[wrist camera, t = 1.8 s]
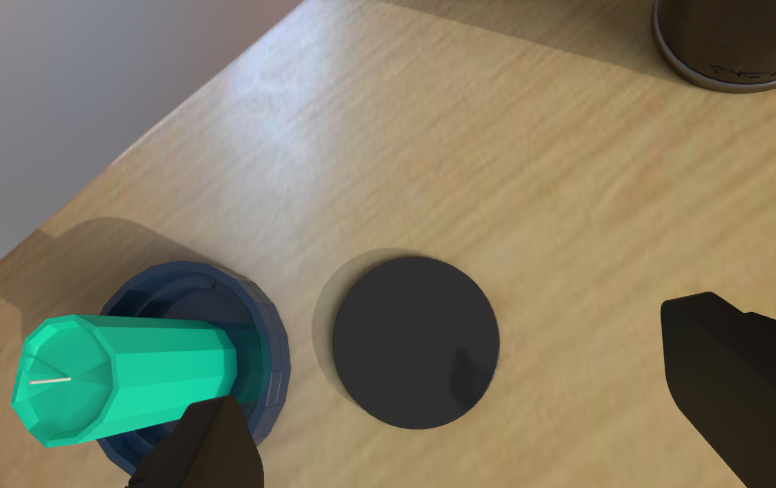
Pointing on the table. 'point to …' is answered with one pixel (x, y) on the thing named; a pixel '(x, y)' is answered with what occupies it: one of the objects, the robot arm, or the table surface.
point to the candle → (117, 374)
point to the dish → (225, 310)
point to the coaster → (416, 343)
